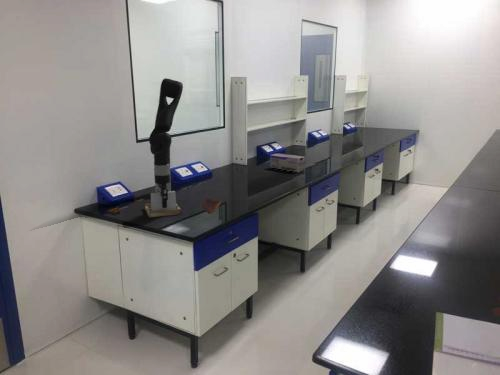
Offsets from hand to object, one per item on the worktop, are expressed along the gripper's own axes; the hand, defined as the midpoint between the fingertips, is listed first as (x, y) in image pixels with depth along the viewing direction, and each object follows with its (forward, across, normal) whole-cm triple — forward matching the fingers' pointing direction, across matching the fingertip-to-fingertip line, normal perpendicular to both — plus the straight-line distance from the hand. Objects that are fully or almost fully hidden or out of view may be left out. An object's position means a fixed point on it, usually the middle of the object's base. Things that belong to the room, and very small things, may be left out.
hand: (163, 206), depth 213 cm
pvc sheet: (+4, 0, 0) cm, 4 cm away
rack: (+5, +4, 0) cm, 7 cm away
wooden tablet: (+6, +9, -26) cm, 28 cm away
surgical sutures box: (+6, +82, -108) cm, 135 cm away
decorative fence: (+6, +22, +15) cm, 27 cm away
